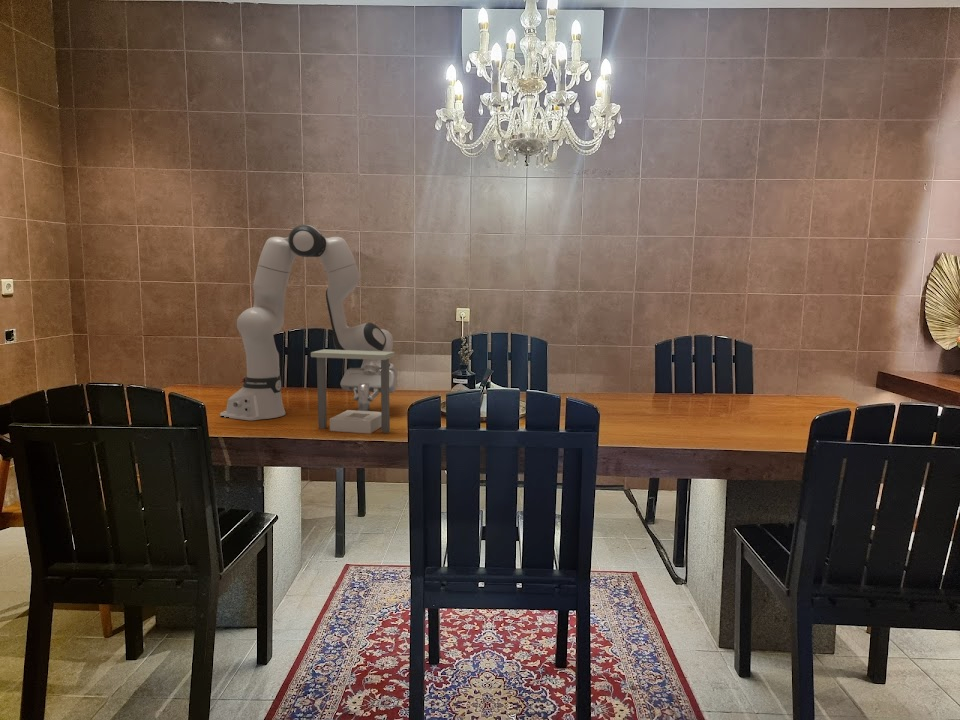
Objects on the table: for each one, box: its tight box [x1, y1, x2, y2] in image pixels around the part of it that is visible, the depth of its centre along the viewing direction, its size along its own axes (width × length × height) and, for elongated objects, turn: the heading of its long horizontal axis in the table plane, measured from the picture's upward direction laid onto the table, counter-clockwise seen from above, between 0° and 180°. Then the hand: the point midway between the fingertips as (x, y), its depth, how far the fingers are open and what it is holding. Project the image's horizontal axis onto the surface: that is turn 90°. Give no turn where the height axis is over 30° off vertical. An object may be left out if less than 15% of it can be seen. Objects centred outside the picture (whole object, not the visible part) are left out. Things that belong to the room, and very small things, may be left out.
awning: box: [310, 349, 396, 434], centre depth 208 cm, size 25×9×26 cm, turn 77°
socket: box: [329, 409, 382, 434], centre depth 213 cm, size 14×14×4 cm
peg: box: [357, 383, 371, 411], centre depth 227 cm, size 4×4×12 cm
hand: (363, 400), depth 226 cm, fingers closed on peg, 4 cm apart
